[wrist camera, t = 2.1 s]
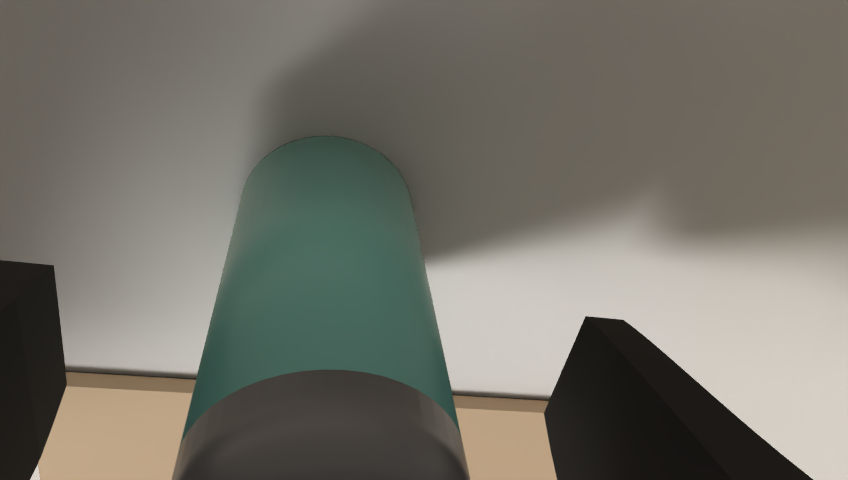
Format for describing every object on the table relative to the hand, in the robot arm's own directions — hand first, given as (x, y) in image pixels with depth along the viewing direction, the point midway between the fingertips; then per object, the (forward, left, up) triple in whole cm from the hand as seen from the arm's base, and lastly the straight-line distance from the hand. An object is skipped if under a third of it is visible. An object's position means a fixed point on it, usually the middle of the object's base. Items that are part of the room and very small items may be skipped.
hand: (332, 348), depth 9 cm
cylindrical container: (0, 0, -4) cm, 4 cm away
